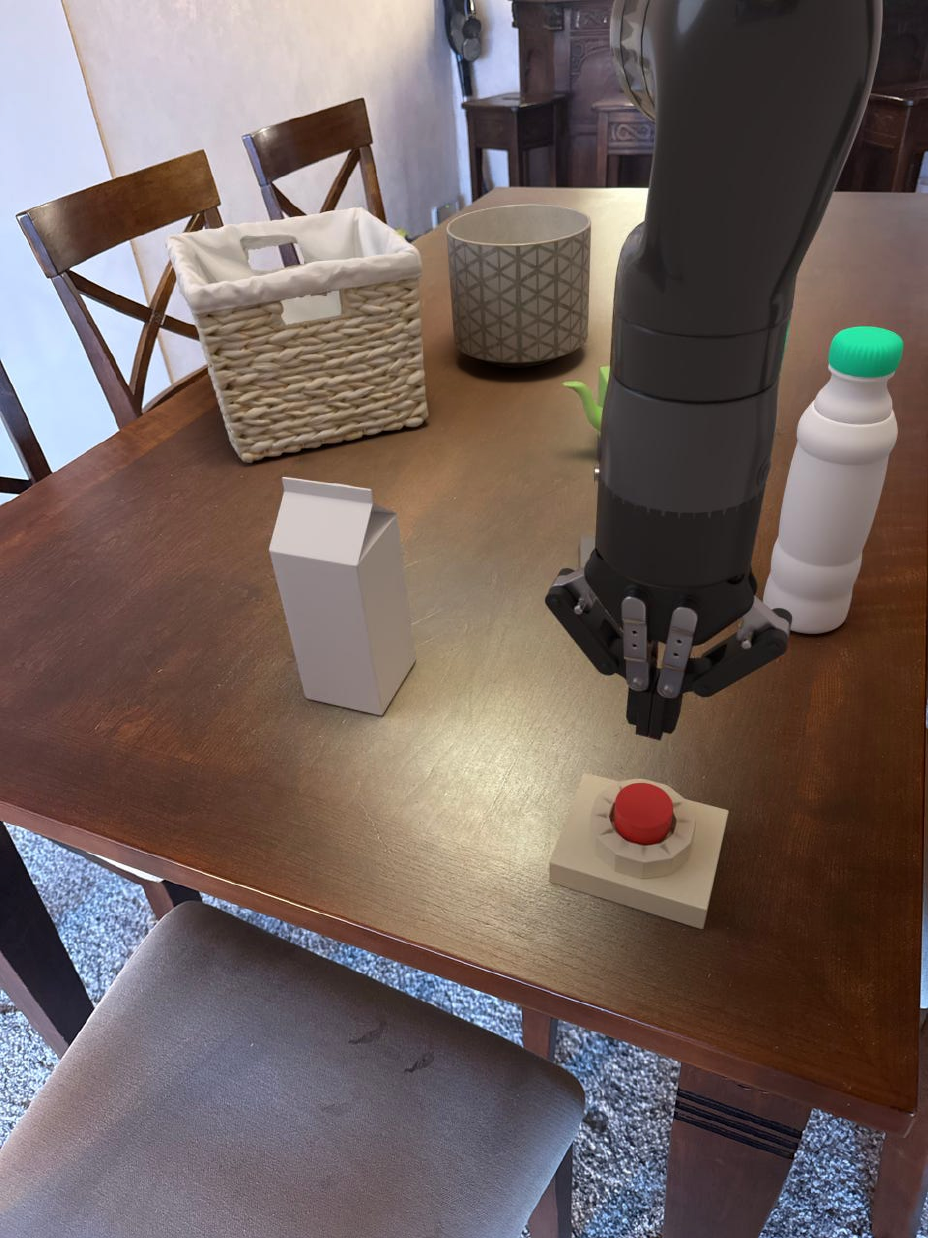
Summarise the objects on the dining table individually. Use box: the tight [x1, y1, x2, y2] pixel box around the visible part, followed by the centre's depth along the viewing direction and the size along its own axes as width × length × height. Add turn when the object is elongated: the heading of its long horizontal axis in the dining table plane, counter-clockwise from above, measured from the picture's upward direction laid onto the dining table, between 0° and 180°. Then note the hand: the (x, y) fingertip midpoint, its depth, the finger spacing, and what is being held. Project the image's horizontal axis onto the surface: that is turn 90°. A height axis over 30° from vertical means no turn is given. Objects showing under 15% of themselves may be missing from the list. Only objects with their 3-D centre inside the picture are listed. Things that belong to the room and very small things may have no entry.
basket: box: [164, 206, 429, 464], centre depth 109 cm, size 27×27×22 cm
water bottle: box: [762, 325, 904, 635], centre depth 69 cm, size 7×7×25 cm
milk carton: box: [268, 476, 417, 716], centre depth 67 cm, size 7×7×19 cm
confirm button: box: [614, 783, 673, 845], centre depth 55 cm, size 4×4×2 cm
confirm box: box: [548, 772, 730, 930], centre depth 57 cm, size 10×8×4 cm
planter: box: [445, 203, 592, 369], centre depth 119 cm, size 19×19×18 cm
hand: (651, 727), depth 50 cm, fingers closed
